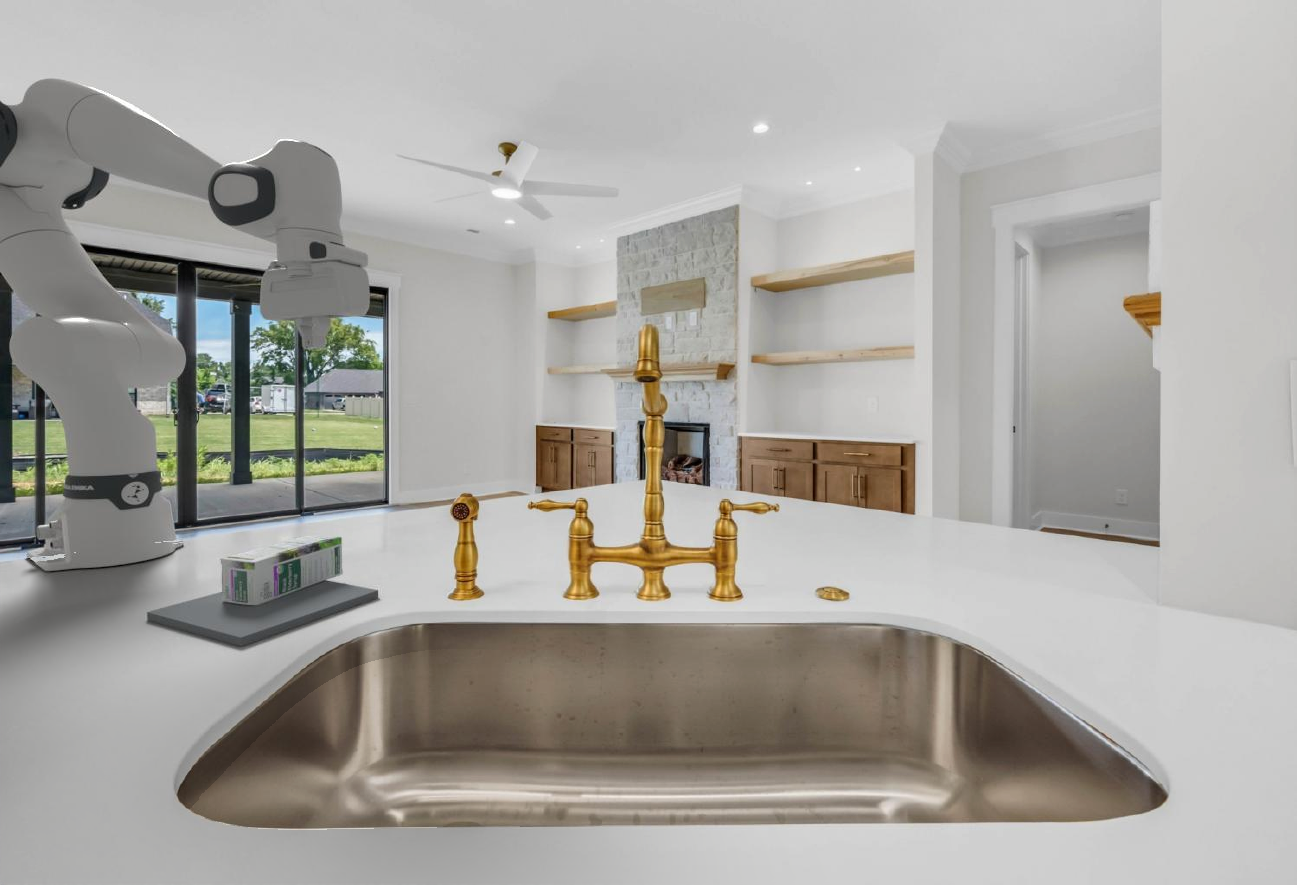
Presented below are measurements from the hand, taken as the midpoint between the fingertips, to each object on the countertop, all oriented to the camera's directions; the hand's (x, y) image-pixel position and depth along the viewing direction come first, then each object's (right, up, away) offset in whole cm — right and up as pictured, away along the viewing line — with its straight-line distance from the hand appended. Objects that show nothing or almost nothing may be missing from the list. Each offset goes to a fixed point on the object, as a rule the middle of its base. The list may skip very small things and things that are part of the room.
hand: (314, 348), depth 93 cm
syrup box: (+4, -31, -3) cm, 31 cm away
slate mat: (+3, -35, -15) cm, 39 cm away
